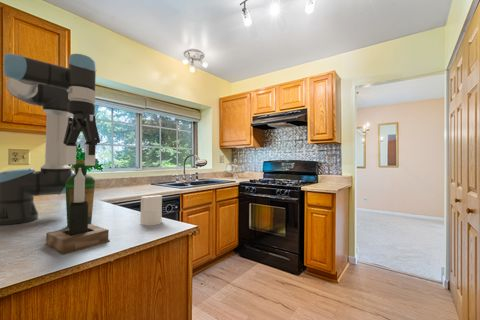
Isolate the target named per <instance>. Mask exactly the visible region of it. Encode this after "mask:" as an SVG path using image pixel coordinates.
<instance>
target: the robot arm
mask: <svg viewBox="0 0 480 320" xmlns="http://www.w3.org/2000/svg"><path fill="white" fill-rule="evenodd" d="M96 73H97V64H96V61H95V59H93V58H92V57H90V56H88V55H85V54H82V53H71V54H70V55H69V56H68V67H64V66H62V65H57V64H54V63H49V62H45V61H41V60H37V59H36V58H35V59H34V58H31V57H26V56H23V55H21V54H15V53H8V52H6V53H5V54H3V75H4V76H5V77H6V78H8V79H7V80H6V83H5V84H6V89H7V91H8V93H9V95H11V96H13V97H14V98H16V99H17V100H18V101H21V102H23V103H25V104H29V105H32V106H37V107H42V111H43V112H44V113H45V114H46V128H45V133H46V134H45V155H44V159H45V160H44V164H43V165H42V166H41V167H40V170H39V171H38V170H37V171H36V169H35V168H31V167H30V168H20V169H19V168H17V169H9V170H4V171H1V172H0V226H7V225H14V224H15V225H18V224H22V223H28V222H31V221H32V222H33V221H35V220H37V219H38V218H39V213H38V212H39V211H38V210H37V207H36V205H35V202H34V198H35V197H37V196H53V195H66V187H65V182H66V181H67V179H68V178H69V177H71V176H73V175H75V170H72V167H71V166H70V165H74V164H76V163H77V147H78V144H77V141H78V139H79V137H80V134H81V133H82V134H83V137H84V139H85V143H84V148H85V149H84V160H85V165H88V166H96V149H97V145H98V144H100V143H101V139H100V136H99V130H98V126H97V122H96V115H95V114H96V113H95V111H96V106H95V103H96V79H97V78H96V77H97V75H96Z"/></svg>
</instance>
